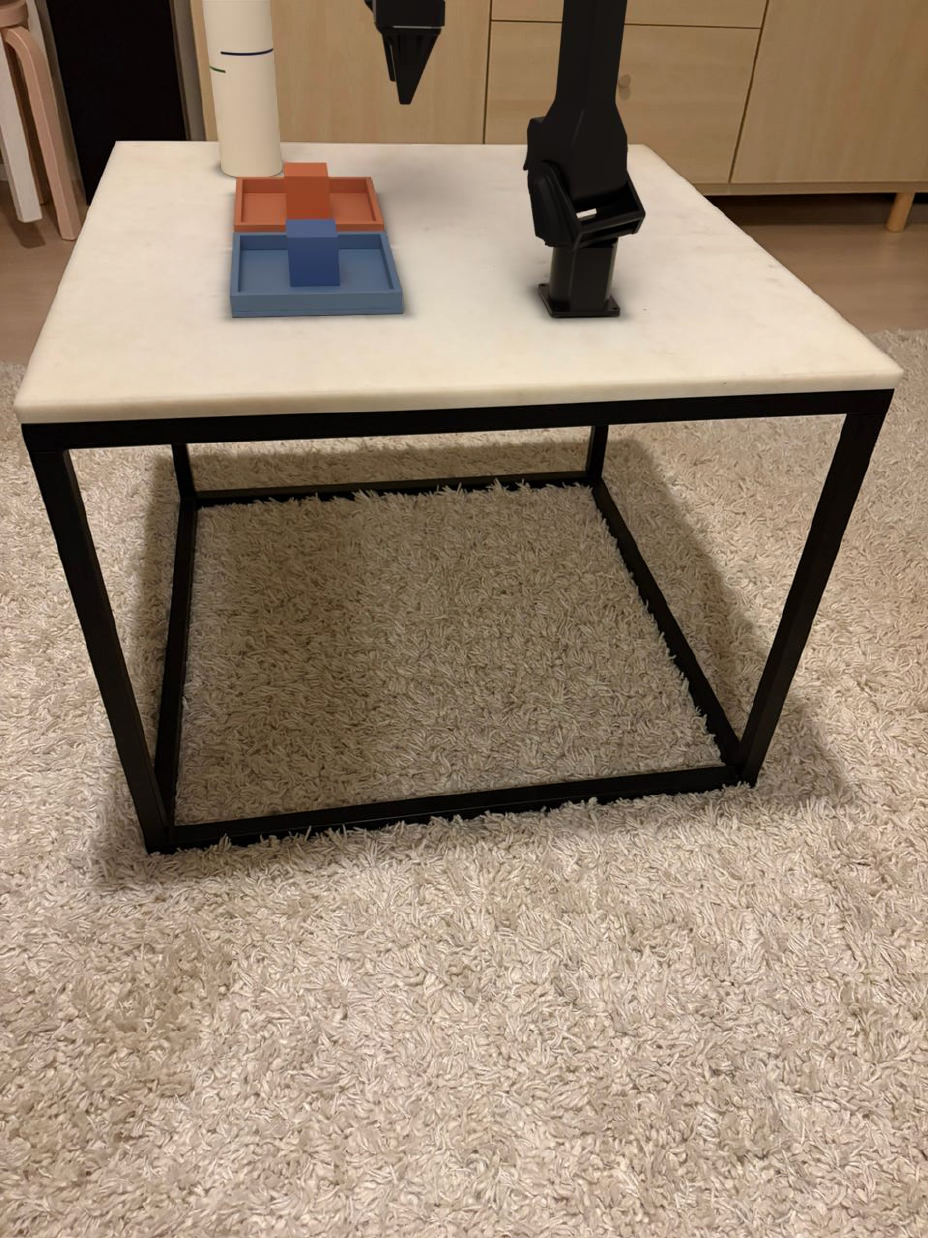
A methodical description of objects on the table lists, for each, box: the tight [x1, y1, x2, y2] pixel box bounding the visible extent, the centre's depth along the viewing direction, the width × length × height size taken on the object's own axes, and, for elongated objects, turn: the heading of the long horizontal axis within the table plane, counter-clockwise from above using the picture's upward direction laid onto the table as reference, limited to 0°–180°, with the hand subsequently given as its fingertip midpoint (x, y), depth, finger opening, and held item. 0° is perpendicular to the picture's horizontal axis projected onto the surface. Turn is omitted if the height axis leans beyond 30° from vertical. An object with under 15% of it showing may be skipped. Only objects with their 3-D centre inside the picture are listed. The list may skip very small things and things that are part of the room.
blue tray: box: [229, 230, 404, 318], centre depth 88 cm, size 15×15×2 cm
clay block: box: [282, 161, 331, 219], centre depth 99 cm, size 4×4×4 cm
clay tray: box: [233, 176, 385, 233], centre depth 100 cm, size 15×15×2 cm
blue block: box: [286, 219, 340, 286], centre depth 86 cm, size 4×4×4 cm
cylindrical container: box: [201, 0, 283, 178], centre depth 104 cm, size 7×7×25 cm
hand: (399, 92), depth 95 cm, fingers open, 9 cm apart
